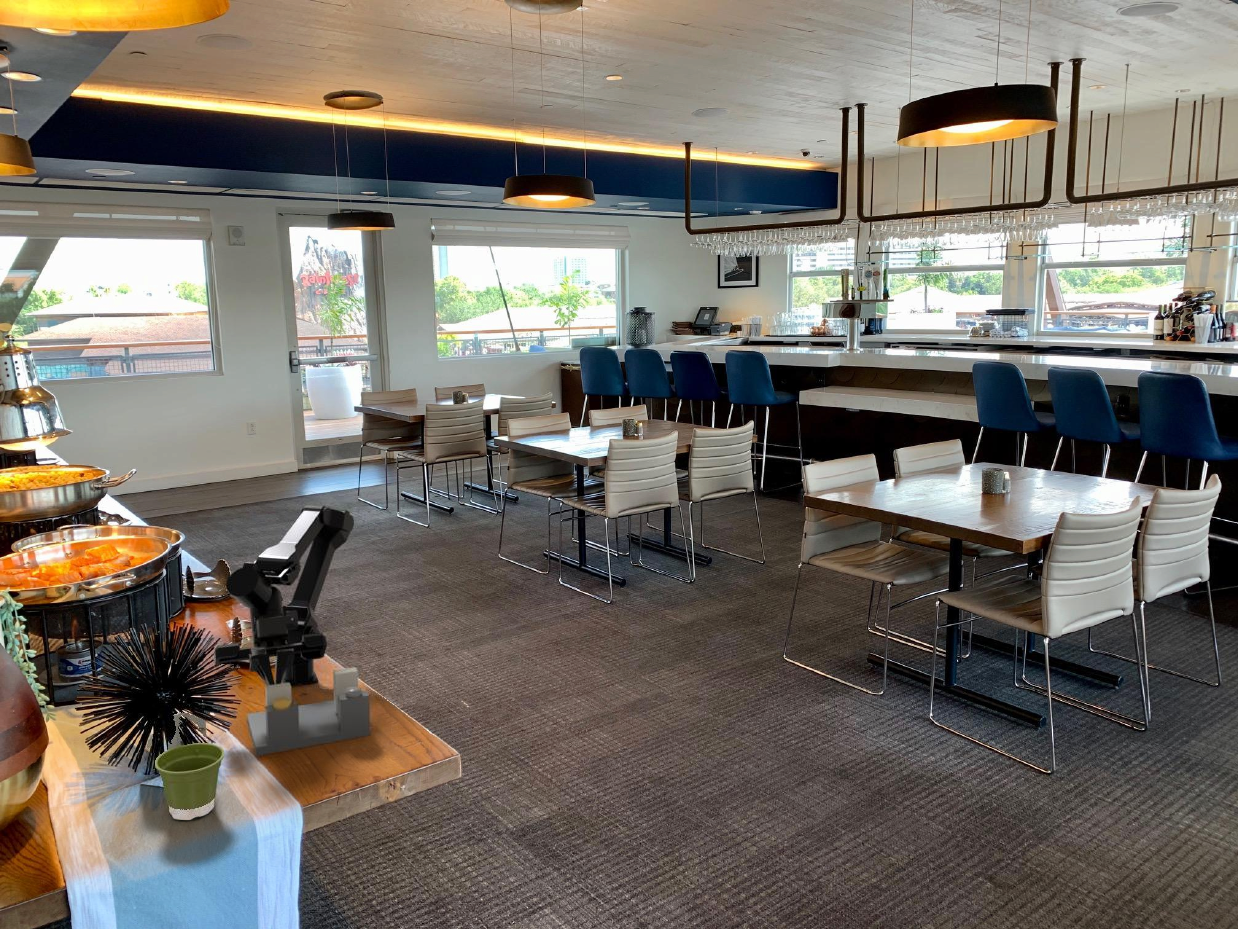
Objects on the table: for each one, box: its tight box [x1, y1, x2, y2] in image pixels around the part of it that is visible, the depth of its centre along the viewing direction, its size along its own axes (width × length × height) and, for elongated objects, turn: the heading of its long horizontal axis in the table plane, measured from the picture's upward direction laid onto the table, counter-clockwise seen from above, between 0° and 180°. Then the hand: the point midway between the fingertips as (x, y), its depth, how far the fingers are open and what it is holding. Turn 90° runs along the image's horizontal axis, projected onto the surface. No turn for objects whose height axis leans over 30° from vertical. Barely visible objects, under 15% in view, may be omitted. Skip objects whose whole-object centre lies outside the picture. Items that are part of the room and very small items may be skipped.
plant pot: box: [155, 742, 225, 810], centre depth 137 cm, size 9×9×9 cm
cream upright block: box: [332, 666, 359, 714], centre depth 168 cm, size 2×4×8 cm, turn 118°
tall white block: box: [264, 682, 293, 707], centre depth 160 cm, size 2×4×8 cm, turn 118°
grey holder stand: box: [246, 686, 371, 757], centre depth 164 cm, size 14×19×8 cm
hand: (276, 696), depth 161 cm, fingers closed, pressing on tall white block
